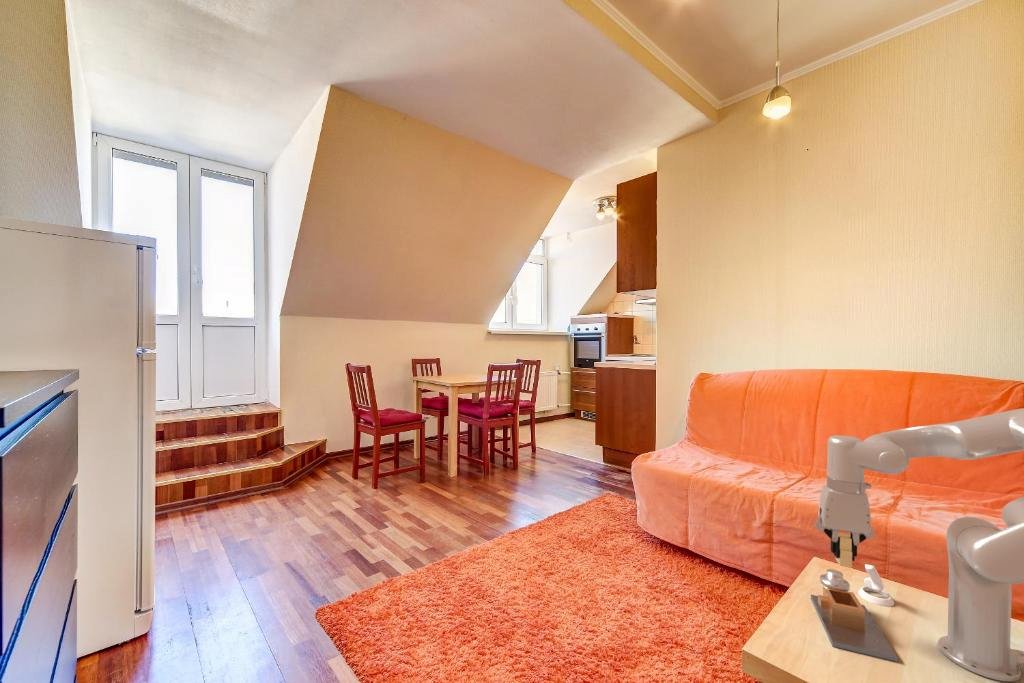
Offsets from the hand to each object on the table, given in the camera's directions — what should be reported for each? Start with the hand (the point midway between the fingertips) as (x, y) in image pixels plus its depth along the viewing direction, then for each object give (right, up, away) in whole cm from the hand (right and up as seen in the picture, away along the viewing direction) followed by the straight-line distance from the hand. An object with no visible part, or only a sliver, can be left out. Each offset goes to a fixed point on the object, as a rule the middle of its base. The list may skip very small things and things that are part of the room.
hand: (843, 556), depth 109 cm
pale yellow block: (0, -2, 0) cm, 2 cm away
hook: (+17, -17, +11) cm, 27 cm away
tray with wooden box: (0, -17, -2) cm, 17 cm away
